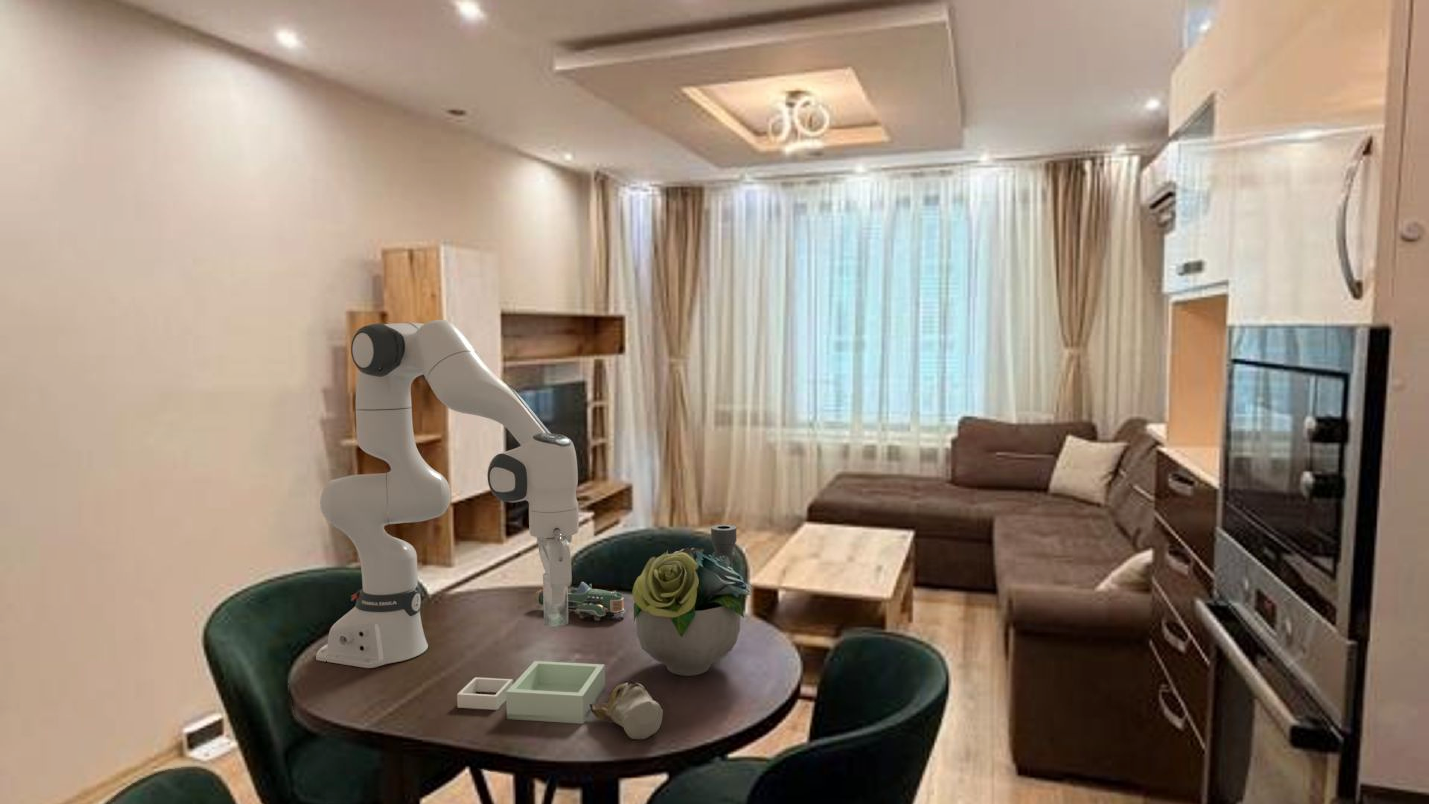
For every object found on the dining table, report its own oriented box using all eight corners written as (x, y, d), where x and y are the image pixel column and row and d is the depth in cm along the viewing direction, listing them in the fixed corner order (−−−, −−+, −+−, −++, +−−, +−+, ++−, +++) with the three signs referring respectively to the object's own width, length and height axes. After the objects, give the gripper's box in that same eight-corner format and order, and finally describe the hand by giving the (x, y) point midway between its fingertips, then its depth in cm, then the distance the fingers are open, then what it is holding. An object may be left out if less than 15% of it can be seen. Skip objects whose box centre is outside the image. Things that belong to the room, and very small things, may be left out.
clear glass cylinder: (539, 625, 148) (538, 577, 147) (550, 617, 152) (549, 570, 151) (561, 627, 147) (560, 578, 146) (572, 619, 151) (571, 572, 150)
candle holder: (717, 643, 180) (716, 531, 178) (706, 634, 186) (705, 525, 184) (742, 638, 183) (742, 529, 181) (731, 630, 189) (730, 523, 187)
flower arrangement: (664, 639, 183) (663, 531, 181) (767, 657, 172) (767, 543, 170) (602, 680, 161) (600, 558, 159) (716, 704, 150) (715, 574, 148)
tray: (506, 718, 145) (506, 691, 144) (535, 686, 159) (534, 660, 158) (583, 723, 143) (582, 696, 142) (605, 689, 157) (604, 664, 156)
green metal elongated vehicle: (615, 626, 192) (615, 591, 192) (523, 615, 200) (522, 582, 200) (632, 613, 201) (632, 580, 201) (544, 603, 209) (543, 571, 209)
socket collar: (457, 707, 149) (457, 694, 149) (475, 690, 157) (475, 677, 157) (497, 709, 148) (496, 696, 148) (513, 692, 156) (512, 679, 156)
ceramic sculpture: (620, 699, 132) (585, 673, 145) (621, 752, 132) (586, 721, 145) (678, 685, 138) (639, 661, 151) (679, 736, 138) (640, 708, 151)
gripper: (579, 534, 139) (580, 614, 140) (564, 511, 159) (566, 581, 160) (541, 537, 137) (543, 618, 138) (531, 513, 157) (533, 584, 158)
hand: (555, 598), depth 149 cm, fingers closed on clear glass cylinder, 4 cm apart
